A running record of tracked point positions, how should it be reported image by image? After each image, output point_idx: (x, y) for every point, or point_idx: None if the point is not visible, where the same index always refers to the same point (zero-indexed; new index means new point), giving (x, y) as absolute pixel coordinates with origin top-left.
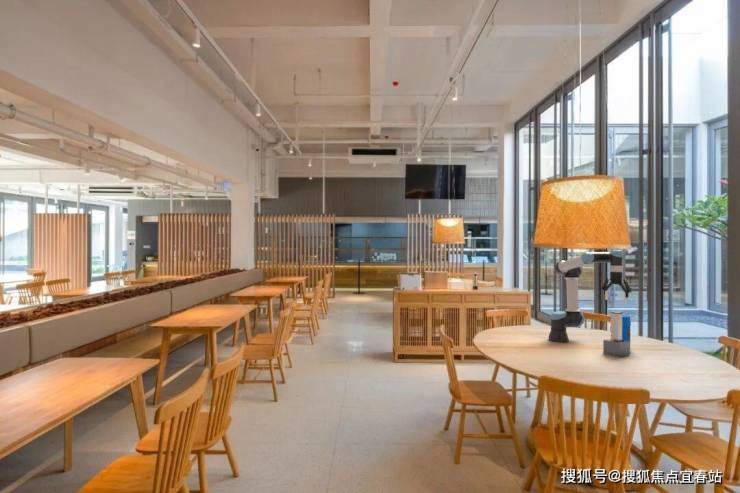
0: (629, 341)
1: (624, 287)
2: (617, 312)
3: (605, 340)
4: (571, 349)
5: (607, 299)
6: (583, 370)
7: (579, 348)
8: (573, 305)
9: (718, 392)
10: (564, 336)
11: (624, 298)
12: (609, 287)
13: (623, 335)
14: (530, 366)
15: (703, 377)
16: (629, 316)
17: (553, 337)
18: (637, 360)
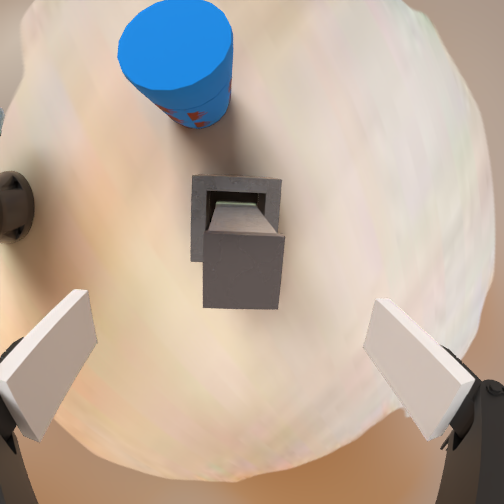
0: (281, 182)
1: (487, 500)
2: (260, 291)
3: (201, 261)
4: (105, 289)
5: (90, 312)
6: (271, 430)
7: (106, 250)
8: None
9: (476, 326)
10: (18, 216)
11: (391, 378)
12: (1, 471)
13: (214, 109)
14: (192, 469)
15: (464, 251)
16: (221, 17)
17: (6, 243)
18: (321, 230)
